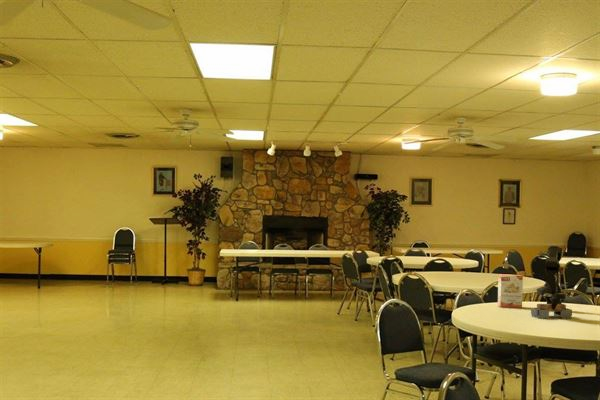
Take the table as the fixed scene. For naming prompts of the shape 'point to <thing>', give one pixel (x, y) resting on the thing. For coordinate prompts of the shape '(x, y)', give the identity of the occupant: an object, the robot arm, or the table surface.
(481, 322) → the table surface
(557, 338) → the table surface
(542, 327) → the table surface
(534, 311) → the brackets
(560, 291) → the robot arm
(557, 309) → the walnut rail
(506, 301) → the cracker box
